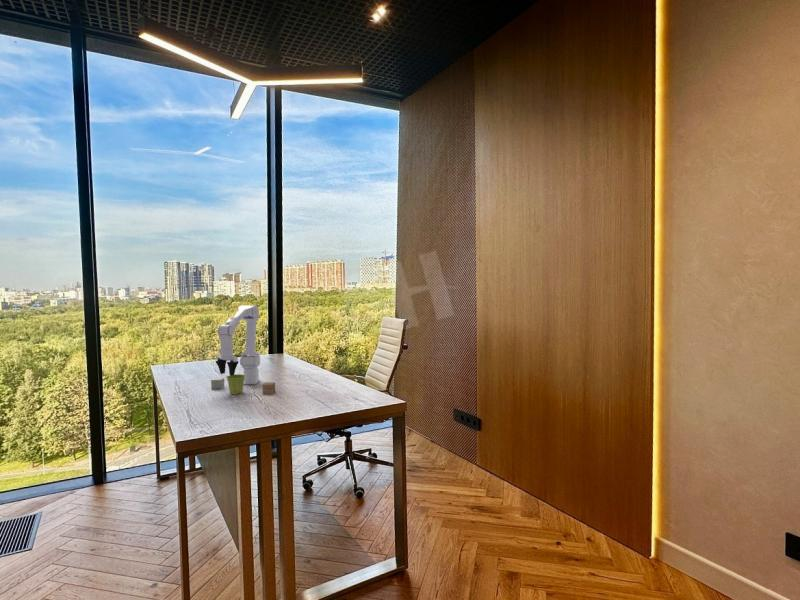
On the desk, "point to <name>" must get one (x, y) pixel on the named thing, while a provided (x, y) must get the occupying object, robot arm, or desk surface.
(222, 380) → the slate block
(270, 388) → the walnut block
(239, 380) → the plant pot
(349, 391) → the desk surface
